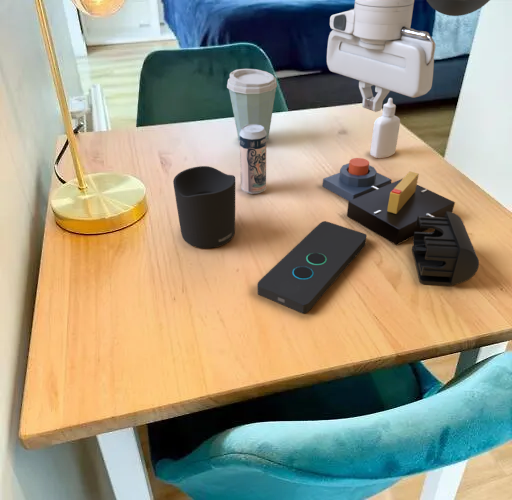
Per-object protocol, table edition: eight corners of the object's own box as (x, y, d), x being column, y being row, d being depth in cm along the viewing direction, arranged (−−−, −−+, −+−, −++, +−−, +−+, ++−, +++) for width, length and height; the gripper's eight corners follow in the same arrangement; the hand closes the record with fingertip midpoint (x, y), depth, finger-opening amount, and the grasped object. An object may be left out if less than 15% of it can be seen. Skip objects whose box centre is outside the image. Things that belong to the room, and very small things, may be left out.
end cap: (472, 289, 71) (484, 250, 67) (420, 286, 71) (429, 247, 67) (457, 249, 79) (467, 211, 75) (410, 246, 79) (418, 209, 76)
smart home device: (254, 283, 69) (322, 219, 83) (254, 293, 70) (321, 228, 84) (307, 305, 66) (369, 234, 79) (306, 315, 67) (368, 243, 80)
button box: (359, 172, 101) (361, 156, 99) (390, 187, 95) (393, 170, 93) (322, 186, 96) (323, 169, 94) (352, 203, 91) (354, 186, 89)
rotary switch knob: (406, 189, 88) (410, 169, 86) (415, 191, 88) (419, 172, 85) (386, 211, 82) (390, 191, 80) (396, 214, 82) (400, 193, 79)
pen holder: (180, 253, 78) (174, 197, 72) (178, 221, 86) (172, 168, 80) (240, 247, 79) (239, 191, 74) (233, 217, 87) (231, 163, 81)
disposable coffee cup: (280, 134, 117) (282, 68, 108) (271, 154, 108) (272, 83, 99) (236, 131, 119) (234, 65, 110) (223, 149, 110) (220, 80, 101)
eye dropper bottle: (367, 150, 109) (374, 94, 102) (393, 149, 109) (402, 94, 102) (371, 158, 106) (378, 102, 99) (398, 158, 106) (407, 101, 99)
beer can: (254, 198, 92) (253, 135, 85) (235, 189, 95) (233, 128, 88) (271, 188, 95) (272, 127, 88) (253, 181, 98) (252, 121, 91)
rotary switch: (396, 190, 94) (398, 175, 93) (456, 220, 86) (460, 203, 84) (342, 213, 88) (343, 197, 86) (401, 248, 79) (405, 231, 77)
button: (357, 166, 96) (359, 156, 95) (372, 173, 93) (373, 162, 92) (344, 171, 94) (345, 161, 93) (358, 178, 92) (359, 168, 91)
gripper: (450, 30, 73) (433, 122, 81) (350, 10, 87) (343, 90, 95) (422, 37, 70) (407, 131, 78) (322, 15, 84) (318, 97, 92)
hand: (371, 109), depth 87 cm, fingers closed
